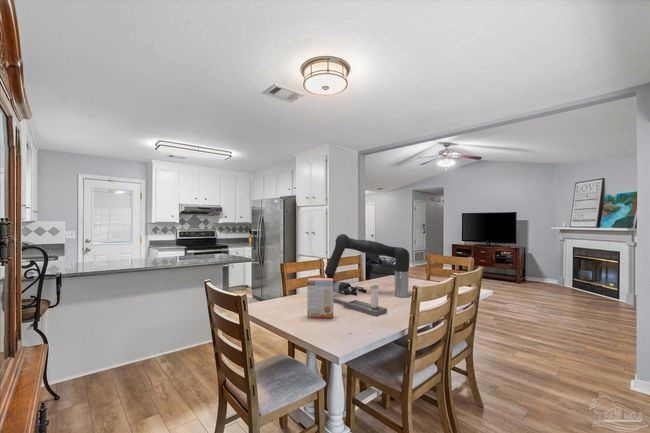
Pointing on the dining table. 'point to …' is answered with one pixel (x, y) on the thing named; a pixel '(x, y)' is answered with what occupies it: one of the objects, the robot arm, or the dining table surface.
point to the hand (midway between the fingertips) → (361, 292)
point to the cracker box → (320, 297)
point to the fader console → (365, 308)
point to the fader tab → (374, 297)
